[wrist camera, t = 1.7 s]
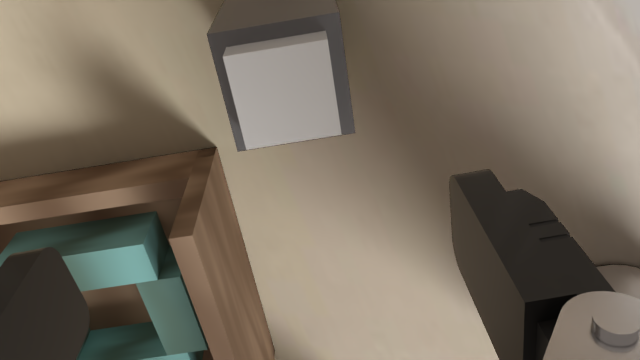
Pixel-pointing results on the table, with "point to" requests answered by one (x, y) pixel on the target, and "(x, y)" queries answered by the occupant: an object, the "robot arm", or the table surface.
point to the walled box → (146, 256)
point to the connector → (282, 71)
